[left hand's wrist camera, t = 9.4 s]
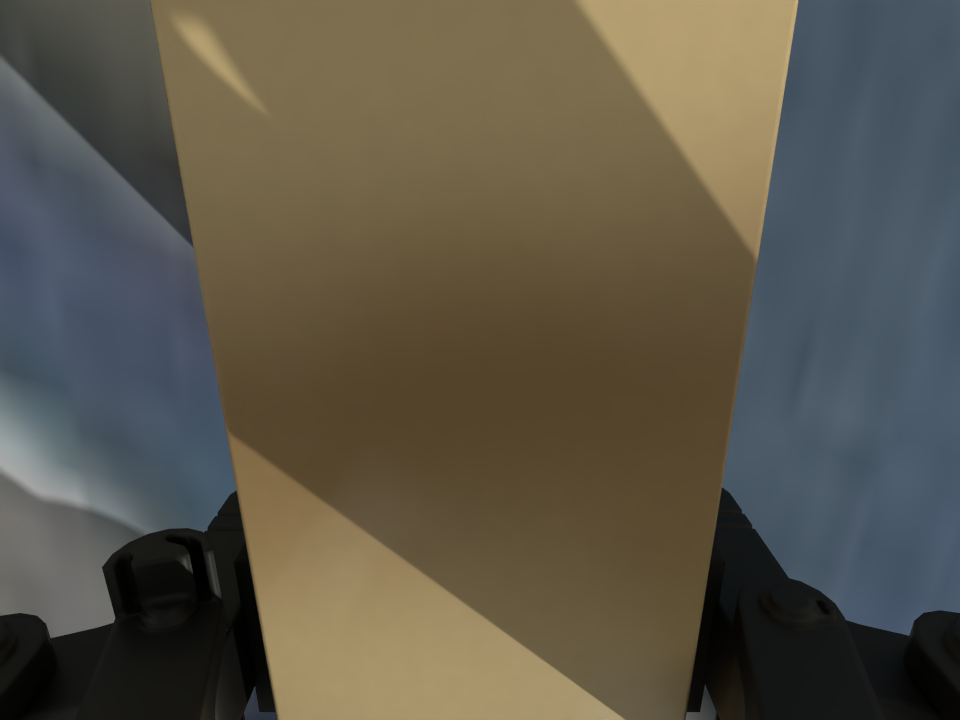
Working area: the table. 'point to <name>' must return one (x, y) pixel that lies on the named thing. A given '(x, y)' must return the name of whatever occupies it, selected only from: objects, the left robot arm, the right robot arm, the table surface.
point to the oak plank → (477, 332)
